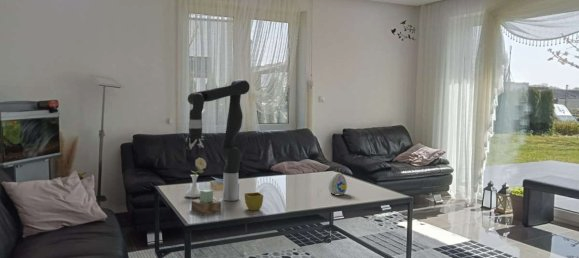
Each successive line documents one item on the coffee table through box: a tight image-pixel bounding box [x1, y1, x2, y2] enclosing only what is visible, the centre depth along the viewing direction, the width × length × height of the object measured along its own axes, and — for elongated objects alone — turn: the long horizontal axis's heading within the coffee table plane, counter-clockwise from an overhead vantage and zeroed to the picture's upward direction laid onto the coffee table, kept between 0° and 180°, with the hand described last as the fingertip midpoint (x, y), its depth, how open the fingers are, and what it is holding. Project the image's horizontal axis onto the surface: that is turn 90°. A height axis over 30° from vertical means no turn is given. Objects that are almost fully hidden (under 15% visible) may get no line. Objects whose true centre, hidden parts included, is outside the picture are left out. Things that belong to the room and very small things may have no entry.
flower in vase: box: [184, 157, 207, 198], centre depth 277 cm, size 13×11×25 cm
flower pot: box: [244, 191, 264, 212], centre depth 252 cm, size 9×9×9 cm
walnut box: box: [190, 198, 222, 216], centre depth 246 cm, size 12×12×6 cm
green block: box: [199, 188, 214, 203], centre depth 246 cm, size 5×5×6 cm
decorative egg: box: [328, 172, 348, 195], centre depth 296 cm, size 12×12×15 cm
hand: (195, 154), depth 255 cm, fingers open, 8 cm apart
